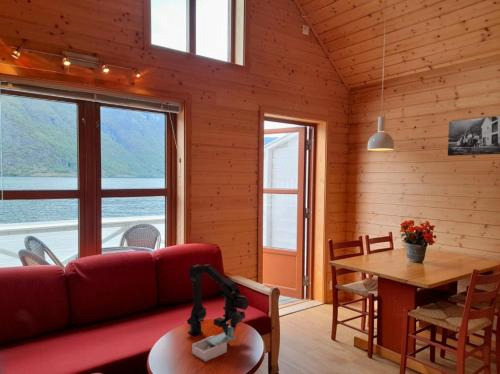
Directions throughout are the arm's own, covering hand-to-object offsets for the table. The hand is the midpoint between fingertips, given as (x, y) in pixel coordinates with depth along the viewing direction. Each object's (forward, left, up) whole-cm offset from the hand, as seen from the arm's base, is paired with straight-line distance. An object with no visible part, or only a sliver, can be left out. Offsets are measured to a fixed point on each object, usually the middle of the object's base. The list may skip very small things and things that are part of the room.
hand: (229, 333), depth 192 cm
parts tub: (0, -14, -6) cm, 15 cm away
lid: (0, -6, -1) cm, 6 cm away
